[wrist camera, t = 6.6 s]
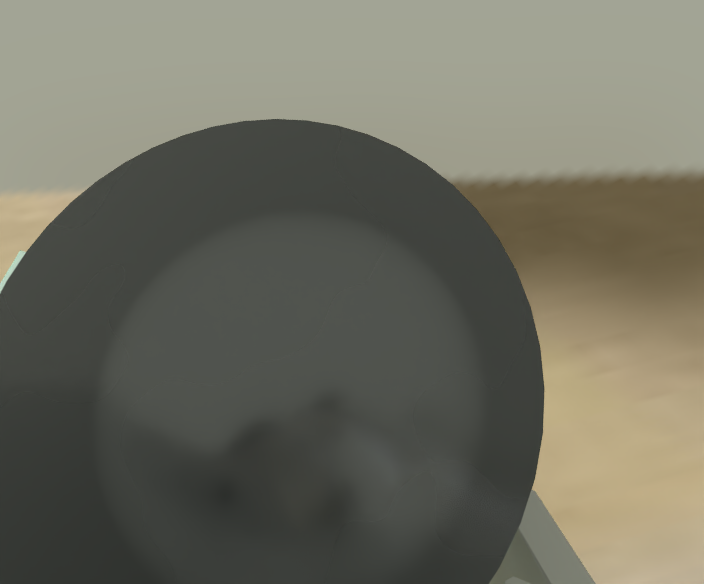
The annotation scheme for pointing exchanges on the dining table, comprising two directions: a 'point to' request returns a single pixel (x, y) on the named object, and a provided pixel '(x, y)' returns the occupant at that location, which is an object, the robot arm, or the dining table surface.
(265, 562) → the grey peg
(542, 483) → the dining table surface
